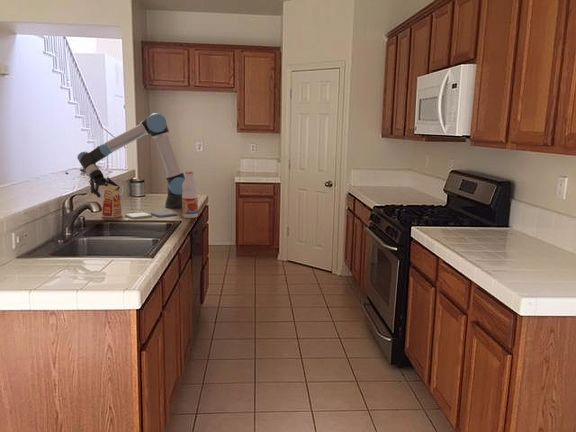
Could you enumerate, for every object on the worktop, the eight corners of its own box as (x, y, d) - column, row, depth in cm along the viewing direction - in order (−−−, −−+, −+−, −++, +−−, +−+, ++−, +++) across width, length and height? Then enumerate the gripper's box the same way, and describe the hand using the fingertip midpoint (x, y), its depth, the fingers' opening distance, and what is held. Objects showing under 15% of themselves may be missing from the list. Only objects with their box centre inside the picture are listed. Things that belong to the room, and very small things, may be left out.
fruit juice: (189, 215, 306) (188, 170, 301) (201, 216, 302) (200, 171, 297) (179, 217, 298) (178, 171, 293) (191, 218, 293) (190, 172, 288)
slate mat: (168, 212, 313) (168, 210, 312) (177, 215, 304) (177, 213, 304) (150, 214, 305) (150, 212, 305) (159, 217, 296) (159, 215, 296)
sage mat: (143, 214, 306) (143, 212, 306) (151, 216, 297) (151, 214, 297) (124, 216, 298) (124, 214, 298) (133, 218, 289) (133, 217, 289)
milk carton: (101, 216, 294) (99, 184, 291) (111, 214, 303) (109, 182, 299) (114, 217, 292) (112, 184, 288) (123, 215, 300) (122, 183, 297)
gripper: (108, 175, 312) (125, 201, 307) (74, 178, 290) (92, 205, 286) (113, 168, 308) (131, 193, 304) (79, 170, 287) (98, 197, 282)
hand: (112, 199), depth 295 cm, fingers open, 13 cm apart
